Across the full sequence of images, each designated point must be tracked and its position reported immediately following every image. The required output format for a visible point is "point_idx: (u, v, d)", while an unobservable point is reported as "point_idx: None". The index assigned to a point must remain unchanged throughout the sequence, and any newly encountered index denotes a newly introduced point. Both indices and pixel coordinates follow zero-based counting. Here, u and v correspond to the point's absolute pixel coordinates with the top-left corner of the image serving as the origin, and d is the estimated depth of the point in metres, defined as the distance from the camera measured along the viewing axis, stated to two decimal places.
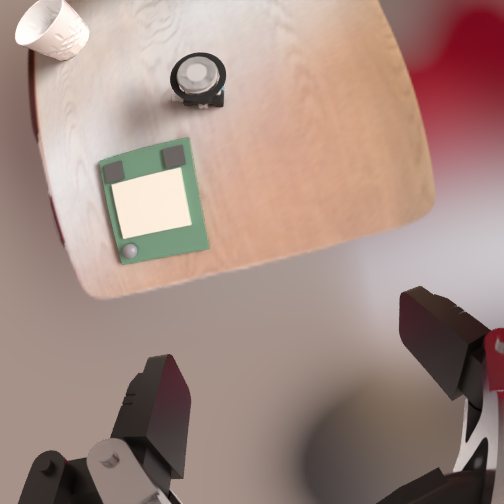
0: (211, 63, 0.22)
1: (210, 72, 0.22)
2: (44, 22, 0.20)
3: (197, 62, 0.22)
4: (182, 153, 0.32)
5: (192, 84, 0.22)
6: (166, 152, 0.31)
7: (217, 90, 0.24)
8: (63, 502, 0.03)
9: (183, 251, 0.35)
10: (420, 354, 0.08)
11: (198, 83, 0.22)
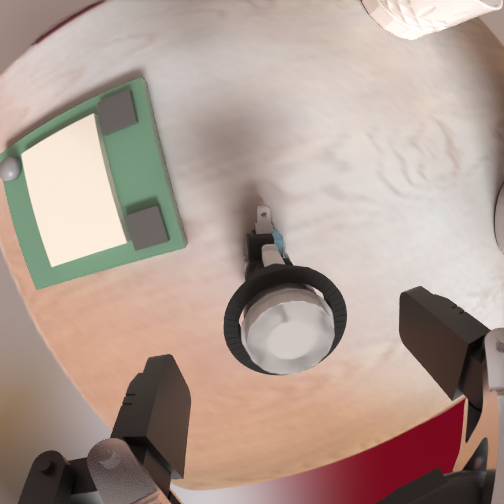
0: (313, 363, 0.11)
1: (290, 365, 0.11)
2: None
3: (318, 337, 0.11)
4: (152, 243, 0.18)
5: (259, 337, 0.11)
6: (150, 212, 0.17)
7: (251, 366, 0.12)
8: (63, 502, 0.03)
9: (24, 252, 0.18)
10: (420, 354, 0.08)
11: (262, 348, 0.11)
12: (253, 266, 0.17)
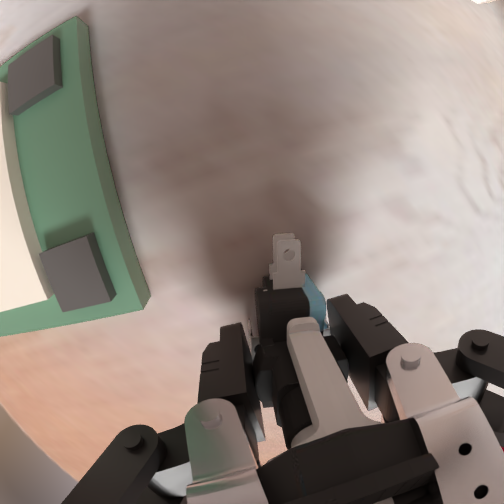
0: None
1: None
2: None
3: None
4: (85, 303, 0.09)
5: None
6: (76, 249, 0.08)
7: None
8: (141, 485, 0.04)
9: None
10: None
11: None
12: (270, 361, 0.08)
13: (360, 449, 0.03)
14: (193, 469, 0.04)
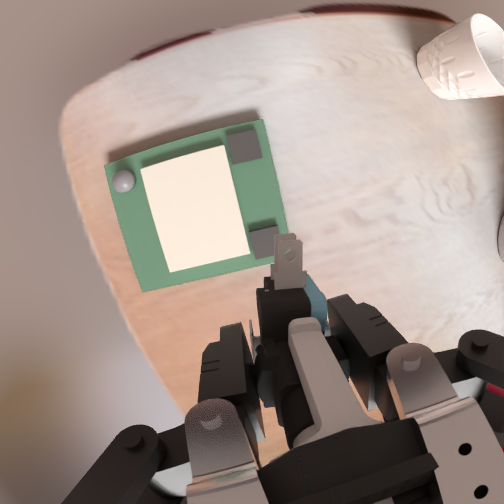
0: None
1: None
2: (478, 48, 0.15)
3: None
4: (270, 254, 0.24)
5: None
6: (271, 231, 0.23)
7: None
8: (141, 485, 0.04)
9: (133, 258, 0.24)
10: None
11: None
12: (272, 361, 0.08)
13: (363, 448, 0.03)
14: (193, 469, 0.04)
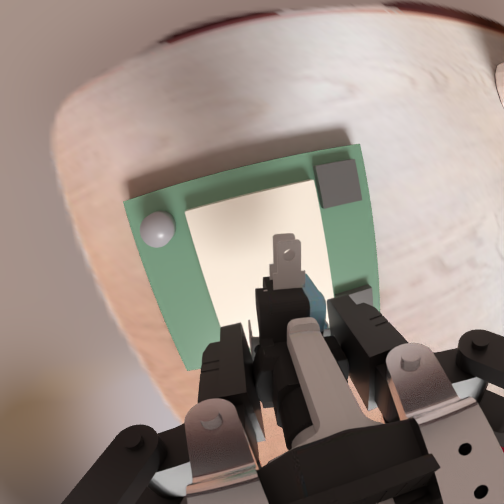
0: None
1: None
2: None
3: None
4: None
5: None
6: (364, 294, 0.17)
7: None
8: (141, 485, 0.04)
9: (174, 332, 0.18)
10: None
11: None
12: (270, 361, 0.08)
13: (361, 450, 0.03)
14: (193, 469, 0.04)
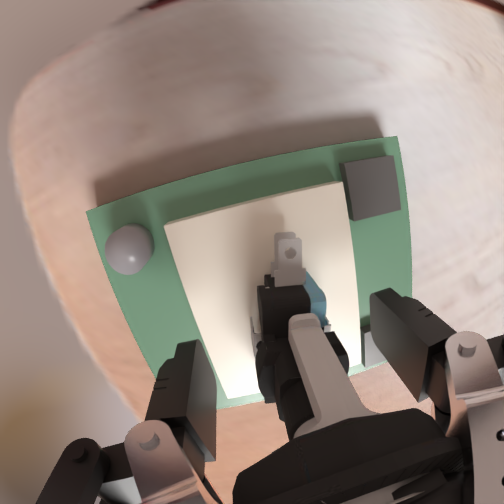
0: None
1: None
2: None
3: None
4: None
5: None
6: None
7: None
8: (92, 493, 0.04)
9: None
10: (389, 355, 0.08)
11: None
12: (272, 356, 0.08)
13: (362, 438, 0.04)
14: (139, 489, 0.04)
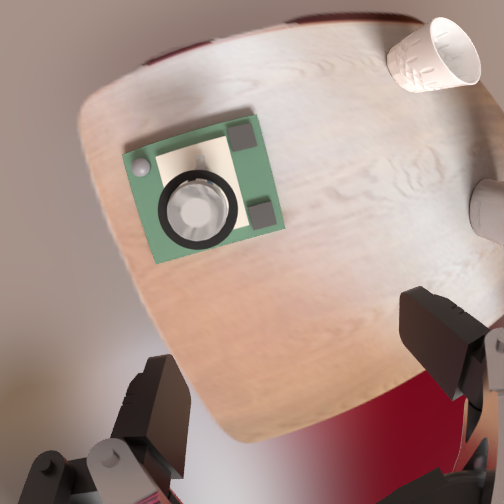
0: (213, 231, 0.18)
1: (197, 232, 0.18)
2: (442, 46, 0.21)
3: (213, 211, 0.18)
4: (266, 225, 0.29)
5: (175, 210, 0.17)
6: (266, 205, 0.28)
7: (176, 241, 0.19)
8: (63, 502, 0.03)
9: (148, 234, 0.28)
10: (420, 354, 0.08)
11: (178, 218, 0.17)
12: None
13: None
14: None
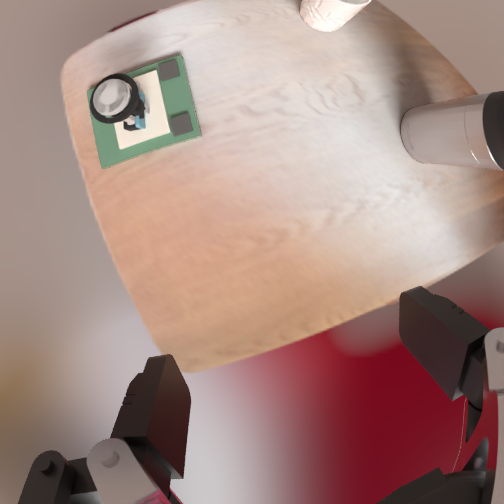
0: (117, 106, 0.22)
1: (108, 107, 0.22)
2: None
3: (119, 93, 0.22)
4: (183, 132, 0.33)
5: (97, 95, 0.21)
6: (184, 116, 0.32)
7: (98, 119, 0.23)
8: (63, 502, 0.03)
9: (98, 145, 0.32)
10: (420, 354, 0.08)
11: (98, 100, 0.21)
12: None
13: None
14: None
